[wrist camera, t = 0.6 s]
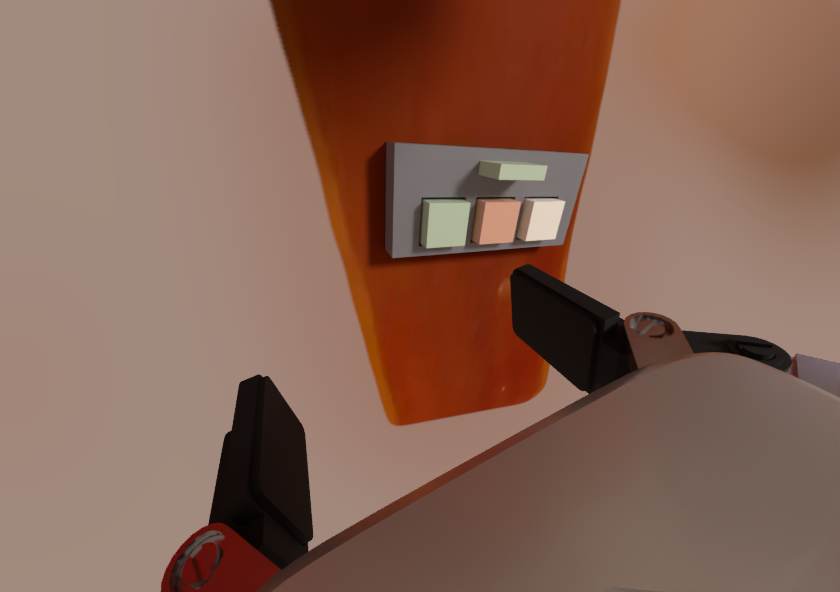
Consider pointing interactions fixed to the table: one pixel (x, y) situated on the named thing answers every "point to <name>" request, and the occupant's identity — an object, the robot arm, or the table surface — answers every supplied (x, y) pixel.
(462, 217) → the sage block
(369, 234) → the table surface
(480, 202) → the terracotta block
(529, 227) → the cream block
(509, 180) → the panel
